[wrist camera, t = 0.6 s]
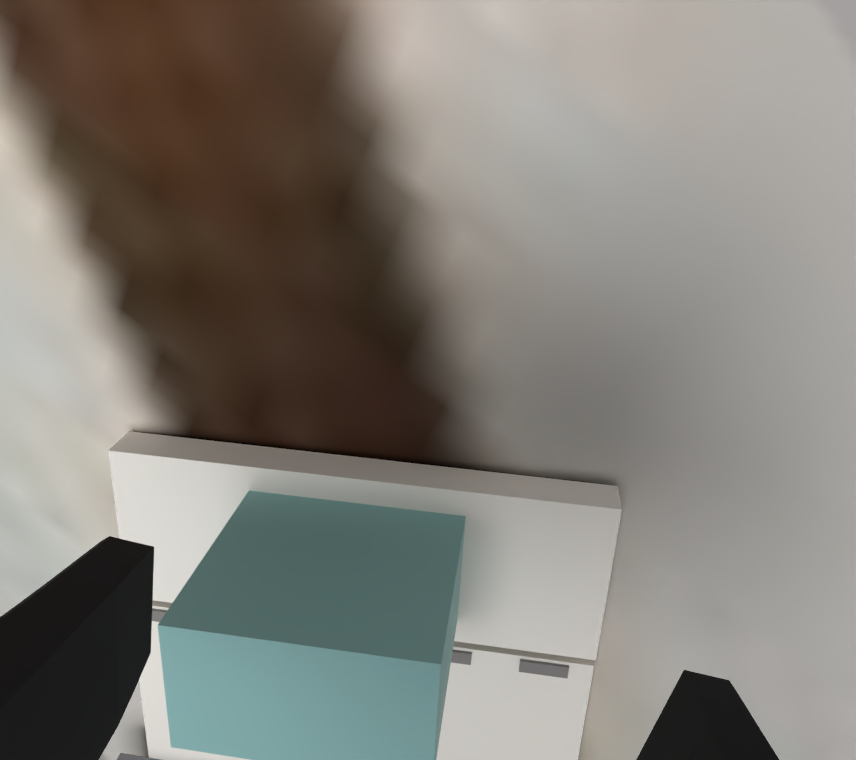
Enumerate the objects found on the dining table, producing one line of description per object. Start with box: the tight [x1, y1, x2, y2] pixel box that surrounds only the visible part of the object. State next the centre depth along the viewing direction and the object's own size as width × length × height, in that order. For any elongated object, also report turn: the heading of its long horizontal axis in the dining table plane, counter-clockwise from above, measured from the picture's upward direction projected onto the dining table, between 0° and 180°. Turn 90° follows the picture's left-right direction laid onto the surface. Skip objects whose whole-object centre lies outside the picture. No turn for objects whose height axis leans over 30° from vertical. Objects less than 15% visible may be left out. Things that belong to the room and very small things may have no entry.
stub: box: [108, 431, 622, 760], centre depth 20 cm, size 5×14×7 cm, turn 87°
